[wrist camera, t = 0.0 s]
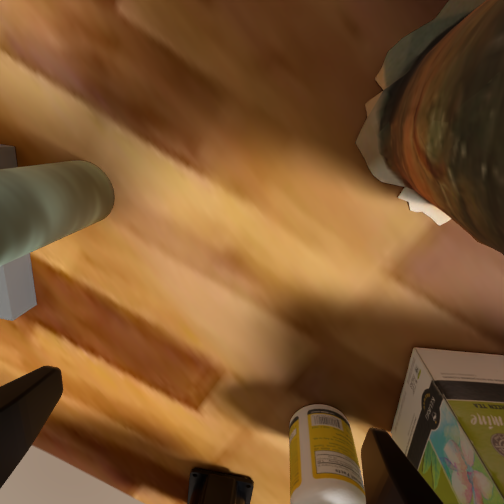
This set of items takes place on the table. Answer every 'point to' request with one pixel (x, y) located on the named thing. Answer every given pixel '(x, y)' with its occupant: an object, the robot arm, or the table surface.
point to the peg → (49, 204)
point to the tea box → (454, 423)
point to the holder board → (15, 266)
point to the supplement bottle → (323, 458)
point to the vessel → (445, 119)
